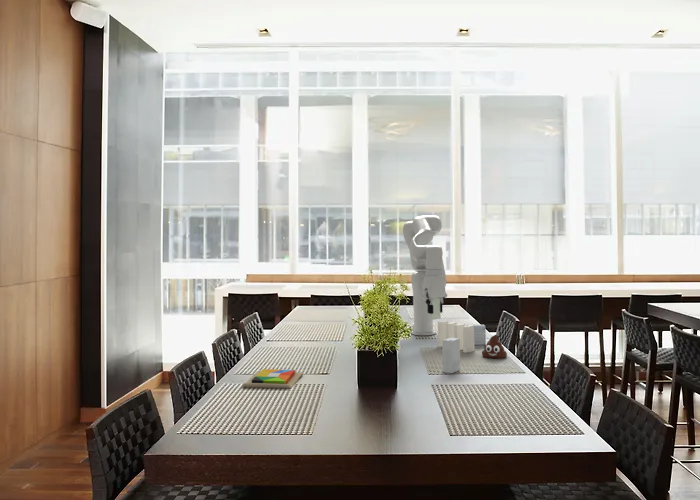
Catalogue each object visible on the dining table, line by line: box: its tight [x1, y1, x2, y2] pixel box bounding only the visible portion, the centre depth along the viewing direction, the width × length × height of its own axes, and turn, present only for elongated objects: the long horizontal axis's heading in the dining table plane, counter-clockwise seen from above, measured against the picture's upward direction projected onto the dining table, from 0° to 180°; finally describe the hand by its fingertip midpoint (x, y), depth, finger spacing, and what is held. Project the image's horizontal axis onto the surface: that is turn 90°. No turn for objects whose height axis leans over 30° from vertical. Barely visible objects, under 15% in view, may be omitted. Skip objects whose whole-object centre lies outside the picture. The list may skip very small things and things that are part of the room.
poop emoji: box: [481, 334, 508, 360], centre depth 240 cm, size 10×8×9 cm
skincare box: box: [441, 338, 461, 374], centre depth 218 cm, size 6×4×12 cm
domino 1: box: [430, 298, 441, 321], centre depth 268 cm, size 2×5×11 cm, turn 124°
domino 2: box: [437, 320, 449, 348], centre depth 264 cm, size 2×5×11 cm, turn 124°
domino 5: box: [462, 324, 475, 353], centre depth 251 cm, size 2×5×11 cm, turn 125°
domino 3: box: [446, 321, 458, 339], centre depth 260 cm, size 2×5×11 cm, turn 125°
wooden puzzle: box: [241, 368, 304, 389], centre depth 210 cm, size 17×19×4 cm
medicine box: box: [466, 324, 487, 346], centre depth 267 cm, size 8×4×9 cm, turn 84°
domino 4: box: [454, 323, 466, 351], centre depth 256 cm, size 2×5×11 cm, turn 124°
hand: (435, 312), depth 268 cm, fingers closed on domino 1, 4 cm apart
